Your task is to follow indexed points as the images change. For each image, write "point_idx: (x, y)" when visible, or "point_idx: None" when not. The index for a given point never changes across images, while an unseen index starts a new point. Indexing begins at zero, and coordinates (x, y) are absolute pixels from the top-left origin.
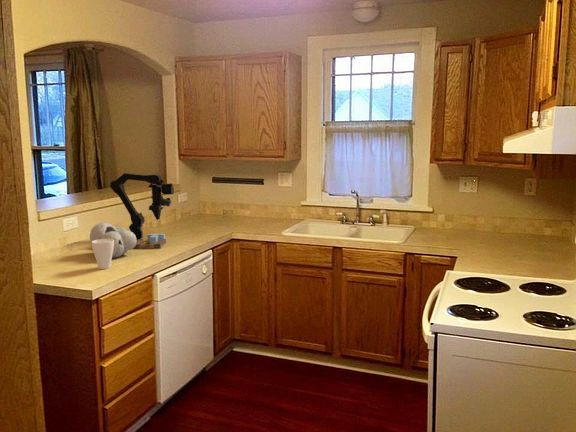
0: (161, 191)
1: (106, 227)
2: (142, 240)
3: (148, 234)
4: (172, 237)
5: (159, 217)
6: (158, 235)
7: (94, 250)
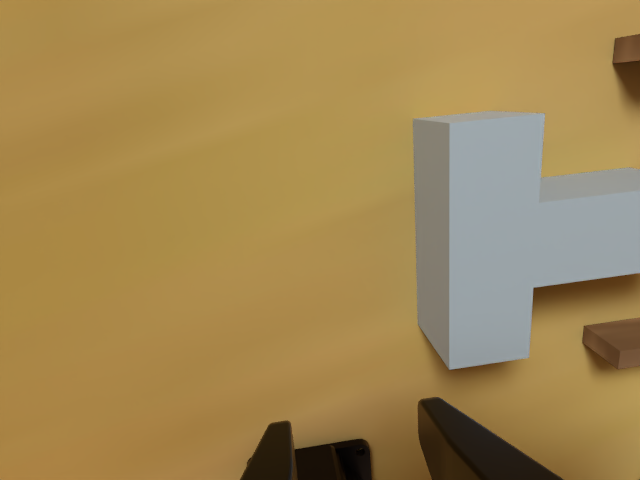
0: None
1: None
2: (609, 343)
3: (494, 355)
4: (234, 60)
5: (291, 451)
6: (531, 198)
7: None
